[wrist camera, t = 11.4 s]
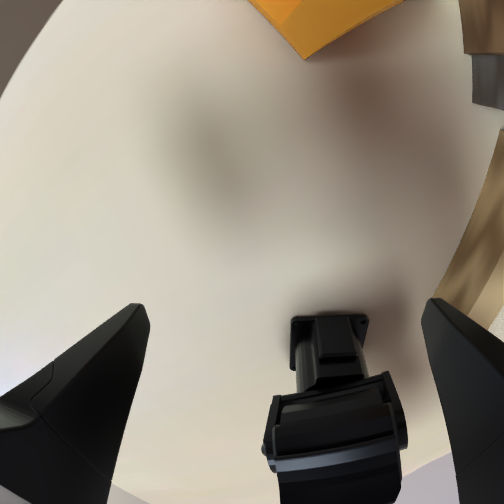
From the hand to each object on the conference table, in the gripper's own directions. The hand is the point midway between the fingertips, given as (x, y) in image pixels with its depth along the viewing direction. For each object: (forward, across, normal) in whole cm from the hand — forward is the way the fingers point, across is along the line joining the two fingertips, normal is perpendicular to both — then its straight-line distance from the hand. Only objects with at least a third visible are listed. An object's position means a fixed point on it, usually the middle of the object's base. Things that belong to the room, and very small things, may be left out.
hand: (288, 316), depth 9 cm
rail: (+12, -17, +1) cm, 21 cm away
